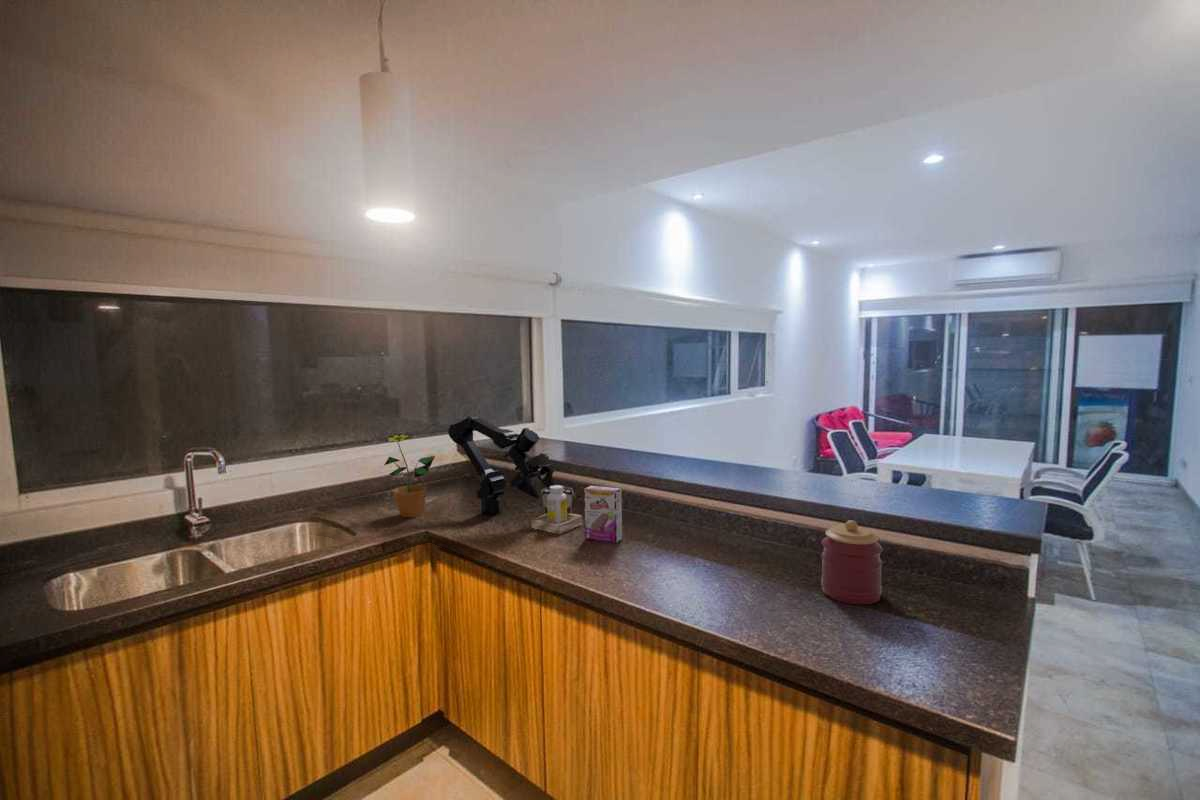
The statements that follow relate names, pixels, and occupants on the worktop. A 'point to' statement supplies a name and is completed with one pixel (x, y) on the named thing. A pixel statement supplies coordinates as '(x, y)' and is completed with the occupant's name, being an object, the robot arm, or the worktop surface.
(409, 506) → the potted plant
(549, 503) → the supplement bottle
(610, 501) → the candy bar box
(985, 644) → the worktop surface
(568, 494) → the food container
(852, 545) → the canister
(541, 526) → the box
